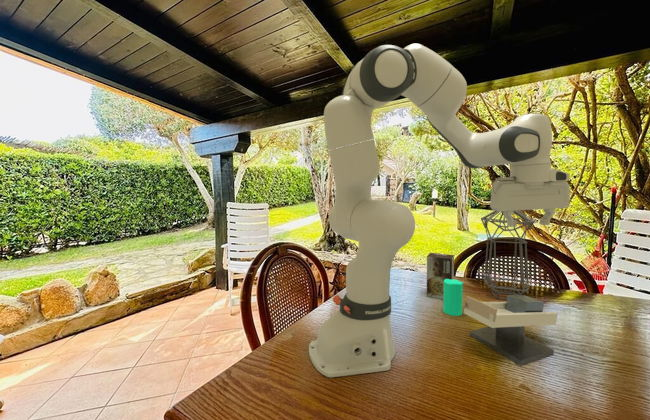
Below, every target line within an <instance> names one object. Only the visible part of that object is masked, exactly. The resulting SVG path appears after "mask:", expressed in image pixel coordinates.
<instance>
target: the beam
mask: <svg viewBox="0 0 650 420" xmlns="http://www.w3.org/2000/svg"><path fill="white" fill-rule="evenodd" d="M464 301H465V302H464V309H463V314H465V315H466V316H469V317H471V318H472V319H474V320H476V321H478V322H479V323H482V324H483V325H485V326H487V327H488V326H489V327H491V328H498V327H518V326H524V327H532V326H553V325H556V324H557V319H558V314H559V313H558V312H554V311H543V312H529V313H513V312H511V311H508V310H506V302H507V301H480V300H477V299H476V298H474V297H471V296H465V300H464Z"/></svg>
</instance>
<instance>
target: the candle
mask: <svg viewBox="0 0 650 420" xmlns="http://www.w3.org/2000/svg"><path fill="white" fill-rule="evenodd" d="M463 290H464V281H460V280H458V279H456V278H455V276H454V277H453V279H445V280H444V290H443V299H442V301H443V303H442V311H443V312H444V314H446V315H449V316H453V317H460V316H462V315H463V302H464V301H463V300H464V299H463V295H464V294H463V293H464V291H463Z"/></svg>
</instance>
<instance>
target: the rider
mask: <svg viewBox="0 0 650 420" xmlns="http://www.w3.org/2000/svg"><path fill="white" fill-rule="evenodd" d="M506 298H507V299H506V301H505V302H506V310H508V311H511V312H513V313H529V312H544V305H545V301H542V300H539V299H536V298H533V297H531V296H527V295H523V294H521V295H513V294H507V296H506Z"/></svg>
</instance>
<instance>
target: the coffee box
mask: <svg viewBox="0 0 650 420" xmlns="http://www.w3.org/2000/svg"><path fill="white" fill-rule="evenodd" d="M453 277H454V278H455V255H454V254H448V253H447V254H446V253H437V252H429V254H427V255H426V297H428V298H432V299H433V298H434V299H440V300H443V290H444V280H445V279H453Z"/></svg>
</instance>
